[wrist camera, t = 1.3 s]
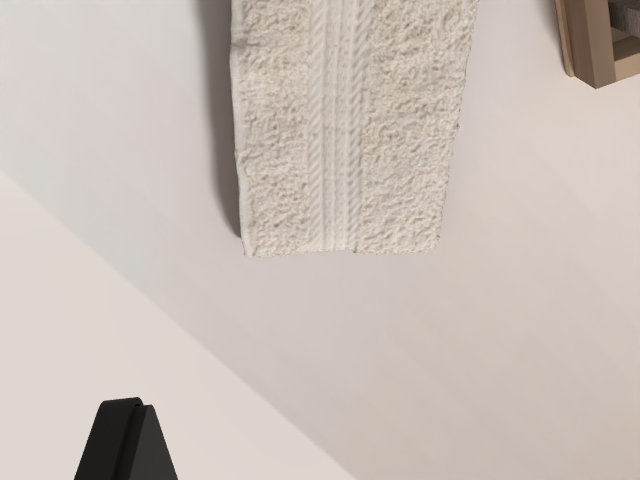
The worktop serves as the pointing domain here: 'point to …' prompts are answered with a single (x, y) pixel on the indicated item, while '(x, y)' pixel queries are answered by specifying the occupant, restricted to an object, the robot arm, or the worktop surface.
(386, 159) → the washcloth
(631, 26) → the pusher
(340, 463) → the worktop surface
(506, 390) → the worktop surface
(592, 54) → the wooden tray
